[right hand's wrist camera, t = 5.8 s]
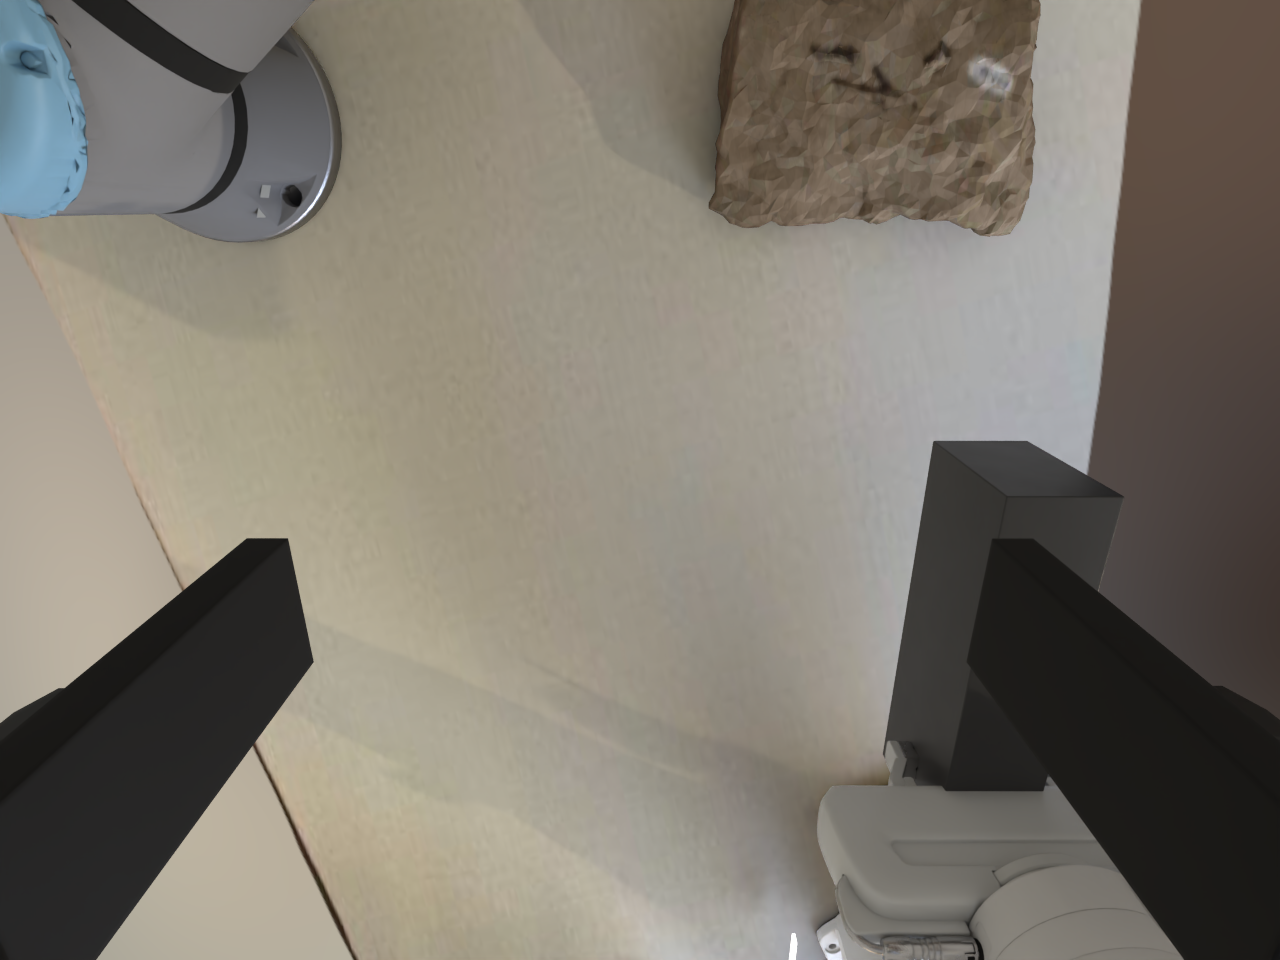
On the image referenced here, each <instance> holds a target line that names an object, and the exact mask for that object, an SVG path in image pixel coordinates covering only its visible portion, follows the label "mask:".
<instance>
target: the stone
mask: <svg viewBox="0 0 1280 960" xmlns="http://www.w3.org/2000/svg"><path fill="white" fill-rule="evenodd" d="M1039 19H1040V2H1039V0H735V2H734V8H733V12H732V16H731V20H730V24H729V28H728V31H727V35H726V37H725V40H724V42H723V47H722V56H721V66H720V76H719V85H718V99H719V103H720V108H721V128H720V133H719V135H718V138H717V141H716V148H717V158H716V165H715V169H716V180H715V193H714V194H713V196H712V198H711V200H710V202H709V209H711V210H713V211H715V212H717V213H719V214H721V215H723V216H724V217H725V218H726V220H727V221H728V222H729V223H731V224H735V225H738V226H740V227H744V228H754V227H760V226H762V225H764V224H766V223H768V222H770V221H773V222H776V223H777V224H778V225H782V226H803V225H807V224H820V223H829V222H834V221H835V220H837V219H839V218H850V219H861V220H864V221H866V222H868V223H875V224H879V223H882V222H885V221H887V220H889V219H891V218H893V217H895V216H898V215H903V216H905V217H906V218H908V219H914V220H916V219H922V220H925V221H944V220H948V221H950V222H952V223H954V224H956V225H958V226H961V227H963V228H971V229H972V230H973V231H974V232H975V233H977V234H978V235H981V236H989V237H990V236H1002V235H1007V234H1010V233H1011V231H1012V230H1013V228H1014V227H1015V226H1016V224H1017V223H1018V222H1019V221H1020V219H1021V216H1022V213H1023V210H1024V207H1025V204H1026V201H1027V200H1028V198H1029V189H1030V185H1031V183H1032V175H1033V160H1032V155H1033V149H1034V145H1035V137H1034V136H1035V126H1034V122H1033V118H1032V111H1033V103H1032V95H1033V82H1032V80H1031V78H1030V76H1031V69H1032V61H1033V52H1034V50H1035V49H1036V48H1037V47H1036V44H1035V43H1036V40H1037V29H1038V23H1039Z"/></svg>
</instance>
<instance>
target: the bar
mask: <svg viewBox="0 0 1280 960" xmlns="http://www.w3.org/2000/svg"><path fill="white" fill-rule="evenodd" d="M1123 500H1124V496H1122V495H1120V494H1119V493H1117V492H1115V491H1113V490H1112V489H1110V488H1108V487H1106V486H1105V485H1103V484H1101V483H1099V482H1098V481H1096V480H1094V479H1092V478H1091V477H1089V476H1087V475H1085V474H1084V473H1082V472H1080V471H1078V470H1077V469H1075V468H1073V467H1071V466H1070V465H1068V464H1066V463H1064V462H1063V461H1061V460H1059V459H1058V458H1056V457H1054V456H1052V455H1051V454H1049V453H1047V452H1045V451H1044V450H1042V449H1040V448H1038V447H1037V446H1035V445H1033V444H1031V443H1030V442H1028V441H934V442H933V447H932V453H931V460H930V466H929V472H928V478H927V484H926V491H925V497H924V503H923V509H922V515H921V522H920V528H919V534H918V540H917V546H916V553H915V559H914V565H913V571H912V577H911V583H910V590H909V596H908V602H907V608H906V614H905V621H904V627H903V633H902V639H901V645H900V652H899V658H898V664H897V670H896V676H895V683H894V689H893V695H892V701H891V707H890V713H889V720H888V726H887V732H886V738H885V744H884V751H883V755H884V757H885V752H886V746H887V742H888V741H910V742H911V743H912V745H913V748H914V749H915V750H916V752H917V754H918V756H919V762H918V767H917V768H916V770H917V773H916V778H915V779H914V781H915V783H916V785H917V786H942V787H943V788H944V790H945V791H1044V788H1045V784H1046V781H1047V777H1048V773H1047V772H1046V770H1045V769H1044V768H1043V766H1042V765H1041V763H1040V762H1039V761H1038V759H1037V758H1036V757H1035V755H1034V754H1033V752H1032V751H1031V750H1030V748H1029V747H1028V746H1027V744H1026V743H1025V742H1024V740H1023V739H1022V737H1021V736H1020V735H1019V733H1018V732H1017V731H1016V729H1015V728H1014V726H1013V725H1012V724H1011V722H1010V721H1009V720H1008V718H1007V717H1006V716H1005V714H1004V713H1003V711H1002V710H1001V709H1000V707H999V706H998V705H997V703H996V702H995V700H994V699H993V698H992V696H991V695H990V694H989V692H988V691H987V690H986V688H985V687H984V685H983V684H982V683H981V681H980V680H979V679H978V677H977V676H976V674H975V673H974V672H973V670H972V669H971V668H970V666H969V665H968V663H967V657H968V652H969V647H970V642H971V637H972V633H973V628H974V623H975V618H976V613H977V609H978V604H979V599H980V594H981V589H982V585H983V580H984V575H985V570H986V565H987V561H988V556H989V551H990V546H991V541H992V538H1033V539H1034V540H1036V541H1037V542H1038V543H1039V544H1041V545H1042V546H1043V547H1044V548H1045V549H1047V550H1048V551H1049V552H1050V553H1051V554H1053V555H1054V556H1055V557H1056V558H1058V559H1059V560H1060V561H1061V562H1062V563H1064V564H1065V565H1066V566H1067V567H1069V568H1070V569H1071V570H1072V571H1073V572H1075V573H1076V574H1077V575H1078V576H1079V577H1081V578H1082V579H1083V580H1084V581H1086V582H1087V583H1088V584H1089V585H1090V586H1092V587H1093V588H1094V589H1095V590H1096V591H1099V588H1100V584H1101V580H1102V577H1103V573H1104V570H1105V566H1106V562H1107V559H1108V555H1109V551H1110V548H1111V544H1112V540H1113V537H1114V533H1115V529H1116V526H1117V522H1118V518H1119V515H1120V511H1121V508H1122V504H1123Z"/></svg>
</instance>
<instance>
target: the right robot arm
mask: <svg viewBox="0 0 1280 960" xmlns="http://www.w3.org/2000/svg"><path fill="white" fill-rule="evenodd" d="M313 1H314V0H0V213H3V214H6V215H10V216H18V217H22V218H29V219H34V218H44V217H48V216H72V215H123V214H155V215H157V216H159V217H161V218H163V219H165V220H167V221H169V222H171V223H173V224H175V225H177V226H179V227H181V228H183V229H185V230H188V231H190V232H192V233H195V234H198V235H200V236H203V237H206V238H210V239H214V240H219V241H226V242H253V241H264V240H270V239H274V238H278V237H281V236H284V235H286V234H289V233H291V232H293V231H294V230H296V229H298V228H300V227H301V226H302V225H304V224H305V223H307V222H308V221H309V220H310V219H311V218H312V217H313V216H314V215H315V214H316V213H317V212H318V211H319V209H320V208H321V207H322V205H323V204H324V203H325V201H326V200H327V198H328V196H329V194H330V192H331V190H332V188H333V185H334V183H335V180H336V177H337V173H338V170H339V164H340V159H341V148H342V138H341V125H340V118H339V113H338V108H337V104H336V101H335V97H334V94H333V92H332V89H331V86H330V84H329V82H328V79H327V77H326V75H325V73H324V71H323V69H322V67H321V66H320V64H319V62H318V60H317V59H316V57H315V56H314V54H313V53H312V51H311V50H310V49H309V47H308V46H307V45H306V43H305V42H304V41H303V40H302V38H301V37H300V36H299V35H298V34H297V33H296V32H295V31H294V30H293V29H292V28H291V26H292V25H293V24H294V23H295V21H296V20H297V19H298V18H299V17H300V16H301V15H302V14H303V12H304V11H305V10H306V9H307V8H308V7H309V6H310V5H311V3H312V2H313ZM312 663H313V657H312V652H311V647H310V642H309V637H308V633H307V628H306V623H305V618H304V613H303V609H302V604H301V599H300V594H299V589H298V585H297V580H296V575H295V570H294V565H293V561H292V556H291V551H290V546H289V541H288V538H247V539H246V540H244V541H243V542H242V543H241V544H239V545H238V546H237V547H236V548H235V549H233V550H232V551H231V552H230V553H229V554H227V555H226V556H225V557H224V558H222V559H221V560H220V561H219V562H218V563H216V564H215V565H214V566H213V567H211V568H210V569H209V570H208V571H207V572H205V573H204V574H203V575H202V576H201V577H199V578H198V579H197V580H196V581H194V582H193V583H192V584H191V585H190V586H188V587H187V588H186V589H185V590H184V591H182V592H181V593H180V594H179V595H177V596H176V597H175V598H174V599H173V600H171V601H170V602H169V603H168V604H167V605H165V606H164V607H163V608H162V609H160V610H159V611H158V612H157V613H156V614H154V615H153V616H152V617H151V618H150V619H148V620H147V621H146V622H145V623H143V624H142V625H141V626H140V627H139V628H137V629H136V630H135V631H134V632H132V633H131V634H130V635H129V636H128V637H126V638H125V639H124V640H123V641H122V642H120V643H119V644H118V645H117V646H115V647H114V648H113V649H112V650H111V651H109V652H108V653H107V654H106V655H104V656H103V657H102V658H101V659H100V660H98V661H97V662H96V663H95V664H94V665H92V666H91V667H90V668H89V669H87V670H86V671H85V672H84V673H83V674H81V675H80V676H79V677H78V678H76V679H75V680H74V681H73V682H72V683H70V684H69V685H68V686H67V687H66V688H58V689H56V690H55V691H53V692H51V693H49V694H47V695H46V696H44V697H42V698H40V699H38V700H36V701H34V702H33V703H31V704H29V705H27V706H25V707H23V708H21V709H20V710H18V711H16V712H14V713H13V714H11V715H10V716H9V717H8V718H6V719H5V720H4V721H3V722H1V723H0V960H96V959H97V958H98V956H99V955H100V954H101V952H102V951H103V950H104V948H105V947H106V946H107V944H108V943H109V941H110V940H111V939H112V937H113V936H114V934H115V933H116V932H117V930H118V929H119V928H120V926H121V925H122V924H123V922H124V921H125V919H126V918H127V917H128V915H129V914H130V913H131V911H132V910H133V909H134V907H135V906H136V904H137V903H138V902H139V900H140V899H141V898H142V896H143V895H144V893H145V892H146V891H147V889H148V888H149V887H150V885H151V884H152V883H153V881H154V880H155V878H156V877H157V876H158V874H159V873H160V872H161V870H162V869H163V867H164V866H165V865H166V863H167V862H168V861H169V859H170V858H171V856H172V855H173V854H174V852H175V851H176V850H177V848H178V847H179V846H180V844H181V843H182V841H183V840H184V839H185V837H186V836H187V835H188V833H189V832H190V830H191V829H192V828H193V826H194V825H195V824H196V822H197V821H198V820H199V818H200V817H201V815H202V814H203V813H204V811H205V810H206V809H207V807H208V806H209V804H210V803H211V802H212V800H213V799H214V798H215V796H216V795H217V794H218V792H219V791H220V789H221V788H222V787H223V785H224V784H225V783H226V781H227V780H228V778H229V777H230V776H231V774H232V773H233V772H234V770H235V769H236V767H237V766H238V765H239V763H240V762H241V761H242V759H243V758H244V757H245V755H246V754H247V752H248V751H249V750H250V748H251V747H252V746H253V744H254V743H255V742H256V740H257V739H258V737H259V736H260V735H261V733H262V732H263V731H264V729H265V728H266V726H267V725H268V724H269V722H270V721H271V720H272V718H273V717H274V716H275V714H276V713H277V711H278V710H279V709H280V707H281V706H282V705H283V703H284V702H285V700H286V699H287V698H288V696H289V695H290V694H291V692H292V691H293V690H294V688H295V687H296V685H297V684H298V683H299V681H300V680H301V679H302V677H303V676H304V674H305V673H306V672H307V670H308V669H309V668H310V666H311V665H312ZM967 663H968V665H969V666H970V668H971V669H972V670H973V672H974V673H975V674H976V676H977V677H978V679H979V680H980V681H981V683H982V684H983V685H984V687H985V688H986V690H987V691H988V692H989V694H990V695H991V696H992V698H993V699H994V700H995V702H996V703H997V705H998V706H999V707H1000V709H1001V710H1002V711H1003V713H1004V714H1005V716H1006V717H1007V718H1008V720H1009V721H1010V722H1011V724H1012V725H1013V726H1014V728H1015V729H1016V731H1017V732H1018V733H1019V735H1020V736H1021V737H1022V739H1023V740H1024V742H1025V743H1026V744H1027V746H1028V747H1029V748H1030V750H1031V751H1032V752H1033V754H1034V755H1035V757H1036V758H1037V759H1038V761H1039V762H1040V763H1041V765H1042V766H1043V768H1044V769H1045V770H1046V772H1047V773H1048V774H1049V776H1050V777H1051V778H1052V780H1053V781H1054V783H1055V784H1056V785H1057V787H1058V788H1059V789H1060V791H1061V792H1062V794H1063V795H1064V796H1065V798H1066V799H1067V800H1068V802H1069V803H1070V805H1071V806H1072V807H1073V809H1074V810H1075V811H1076V813H1077V814H1078V815H1079V817H1080V818H1081V820H1082V821H1083V822H1084V824H1085V825H1086V826H1087V828H1088V829H1089V831H1090V832H1091V833H1092V835H1093V836H1094V837H1095V839H1096V840H1097V841H1098V843H1099V844H1100V846H1101V847H1102V848H1103V850H1104V851H1105V852H1106V854H1107V855H1108V857H1109V858H1110V859H1111V861H1112V862H1113V863H1114V865H1115V866H1116V867H1117V869H1118V870H1119V872H1120V873H1121V874H1122V876H1123V877H1124V878H1125V880H1126V881H1127V883H1128V884H1129V885H1130V887H1131V888H1132V889H1133V891H1134V892H1135V893H1136V895H1137V896H1138V898H1139V899H1140V900H1141V902H1142V903H1143V904H1144V906H1145V907H1146V909H1147V910H1148V911H1149V913H1150V914H1151V915H1152V917H1153V918H1154V920H1155V921H1156V922H1157V924H1158V925H1159V926H1160V928H1161V929H1162V930H1163V932H1164V933H1165V935H1166V936H1167V937H1168V939H1169V940H1170V941H1171V943H1172V944H1173V946H1174V947H1175V948H1176V950H1177V951H1178V952H1179V954H1180V955H1181V956H1182V958H1183V959H1184V960H1280V720H1279V719H1278V718H1277V717H1275V716H1274V715H1273V714H1271V713H1270V712H1269V711H1268V710H1266V709H1264V708H1262V707H1260V706H1259V705H1257V704H1255V703H1253V702H1251V701H1249V700H1247V699H1245V698H1244V697H1242V696H1240V695H1238V694H1236V693H1234V692H1233V691H1231V690H1229V689H1227V688H1225V687H1223V686H1212V685H1211V684H1210V683H1208V682H1207V681H1206V680H1205V679H1204V678H1202V677H1201V676H1200V675H1199V674H1197V673H1196V672H1195V671H1194V670H1193V669H1191V668H1190V667H1189V666H1188V665H1186V664H1185V663H1184V662H1183V661H1182V660H1180V659H1179V658H1178V657H1177V656H1175V655H1174V654H1173V653H1172V652H1171V651H1169V650H1168V649H1167V648H1166V647H1165V646H1163V645H1162V644H1161V643H1160V642H1158V641H1157V640H1156V639H1155V638H1154V637H1152V636H1151V635H1150V634H1149V633H1147V632H1146V631H1145V630H1144V629H1143V628H1141V627H1140V626H1139V625H1138V624H1137V623H1135V622H1134V621H1133V620H1132V619H1130V618H1129V617H1128V616H1127V615H1126V614H1124V613H1123V612H1122V611H1121V610H1120V609H1118V608H1117V607H1116V606H1115V605H1113V604H1112V603H1111V602H1110V601H1109V600H1107V599H1106V598H1105V597H1104V596H1103V595H1101V594H1100V593H1099V592H1098V591H1096V590H1095V589H1094V588H1093V587H1092V586H1090V585H1089V584H1088V583H1087V582H1086V581H1084V580H1083V579H1082V578H1081V577H1079V576H1078V575H1077V574H1076V573H1075V572H1073V571H1072V570H1071V569H1070V568H1069V567H1067V566H1066V565H1065V564H1064V563H1062V562H1061V561H1060V560H1059V559H1058V558H1056V557H1055V556H1054V555H1053V554H1051V553H1050V552H1049V551H1048V550H1047V549H1045V548H1044V547H1043V546H1042V545H1041V544H1039V543H1038V542H1037V541H1036V540H1034V539H1033V538H992V541H991V546H990V551H989V556H988V561H987V565H986V570H985V575H984V580H983V585H982V589H981V594H980V599H979V604H978V609H977V613H976V618H975V623H974V628H973V633H972V637H971V642H970V647H969V652H968V657H967Z"/></svg>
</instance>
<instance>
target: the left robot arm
mask: <svg viewBox="0 0 1280 960" xmlns="http://www.w3.org/2000/svg"><path fill="white" fill-rule="evenodd" d="M885 760H886V764H887V766H888V768H889V771H890V776H889V782H888V786H852V785H838V786H832V787H831V788H830V789H829V790H828V791H827V793H826V794H825V796H824V797H823V799H822V800H821V803H820V807H819V813H818V822H817V838H818V843H819V846H820V849H821V852H822V855H823V857H824V860H825V863H826V865H827V868H828V870H829V873H830V875H831V877H832V880H833V882H834V884H835V886H836V889H835V897H836V902H837V905H838V909H839V912H840V913H839V914H838V915H837V916H836V917H835V918H834V919H832V920H831V921H829V922H827V923H826V924H824V925H823V926H822V927H820V928H819V929H818V931H817V933H816V934H817V938H818V941H819V943H820V946H821V948H822V950H823V952H824V954H825V956H826V958H827V960H1184V959H1183V958H1182V956H1181V955H1180V954H1179V952H1178V951H1177V950H1176V948H1175V947H1174V946H1173V944H1172V943H1171V941H1170V940H1169V939H1168V937H1167V936H1166V935H1165V933H1164V932H1163V930H1162V929H1161V928H1160V926H1159V925H1158V924H1157V922H1156V921H1155V920H1154V918H1153V917H1152V915H1151V914H1150V913H1149V911H1148V910H1147V909H1146V907H1145V906H1144V904H1143V903H1142V902H1141V900H1140V899H1139V898H1138V896H1137V895H1136V893H1135V892H1134V891H1133V889H1132V888H1131V887H1130V885H1129V884H1128V883H1127V881H1126V880H1125V878H1124V877H1123V876H1122V874H1121V873H1120V872H1119V870H1118V869H1117V867H1116V866H1115V865H1114V863H1113V862H1112V861H1111V859H1110V858H1109V857H1108V855H1107V854H1106V852H1105V851H1104V850H1103V848H1102V847H1101V846H1100V844H1099V843H1098V841H1097V840H1096V839H1095V837H1094V836H1093V835H1092V833H1091V832H1090V831H1089V829H1088V828H1087V826H1086V825H1085V824H1084V822H1083V821H1082V820H1081V818H1080V817H1079V815H1078V814H1077V813H1076V811H1075V810H1074V809H1073V807H1072V806H1071V805H1070V803H1069V802H1068V800H1067V799H1066V798H1065V796H1064V795H1063V794H1062V792H1061V791H1060V789H1059V788H1058V787H1057V785H1056V784H1055V783H1054V781H1053V780H1052V778H1051V777H1050V776H1049V774H1048V777H1047V781H1046V784H1045V788H1044V791H945V790H944V788H943V787H942V786H917V785H916V783H915V781H914V779H915V778H916V773H917V770H916V768H917V767H918V762H919V756H918V754H917V752H916V750H915V749H914V748H913V745H912V743H911V742H910V741H888V742H887V746H886V752H885ZM796 948H797V940H796V936H795V933H792V939H791V948H790V957H789V960H795V957H796Z"/></svg>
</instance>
